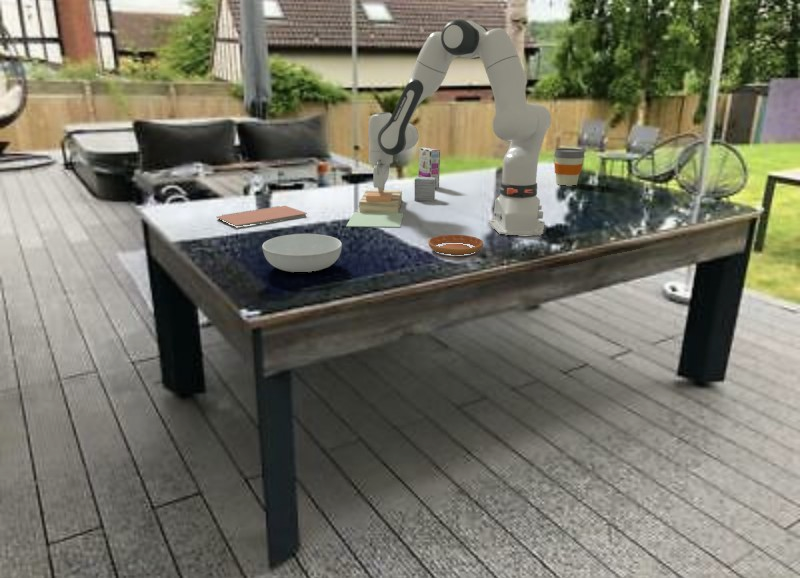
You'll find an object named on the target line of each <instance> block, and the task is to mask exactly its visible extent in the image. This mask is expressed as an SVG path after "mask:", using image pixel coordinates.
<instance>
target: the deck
mask: <svg viewBox="0 0 800 578" xmlns="http://www.w3.org/2000/svg"><path fill="white" fill-rule="evenodd" d="M402 192H403V191H402V190H396V189H395V190H394V189H393V190H391V189H389V190H385V189H384V193H392V200H391V202H377V201H366V195H367V194H368V193H379V192H378V189H375V190H374V189H372V190H371V189H367V190H366V189H365V192H364V194H363V196H362V197H361V198H360V200H359V206H358V207H359V211H358V212H384V213H399V212H398V211H400V208H401V204H402V201H403V193H402Z"/></svg>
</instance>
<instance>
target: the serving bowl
mask: <svg viewBox="0 0 800 578" xmlns="http://www.w3.org/2000/svg"><path fill="white" fill-rule="evenodd" d="M261 248H262V252H263V255H264V259H266V261H267V262H268V263H269V264H270V265H271V266H272V267H274V268H276V269H279V270H281V271H284V272H290V273H294V272H308V273H312V271H314V272H316V271H322V270H323V269H326V268H329V267H331V266H332V265H333V264H335V262H336V261H338V259H339V257H340V256H341V253H342V248H343V243H342V242H341V240H340V239H338V238H336V237H333V236H330V235H325V234H319V233H318V234H317V233H293V234H286V235H280V236H276V237H273V238H270V239H268V240H266V241H264V242H263V244H262V246H261Z"/></svg>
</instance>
